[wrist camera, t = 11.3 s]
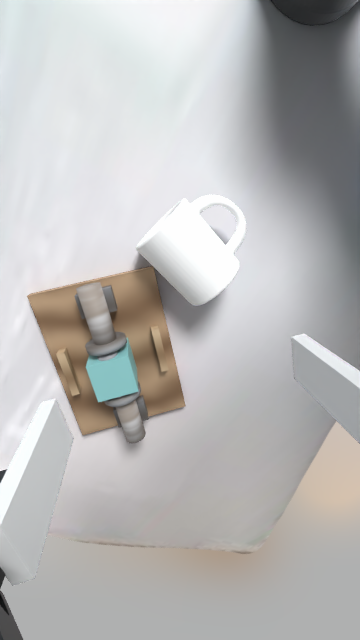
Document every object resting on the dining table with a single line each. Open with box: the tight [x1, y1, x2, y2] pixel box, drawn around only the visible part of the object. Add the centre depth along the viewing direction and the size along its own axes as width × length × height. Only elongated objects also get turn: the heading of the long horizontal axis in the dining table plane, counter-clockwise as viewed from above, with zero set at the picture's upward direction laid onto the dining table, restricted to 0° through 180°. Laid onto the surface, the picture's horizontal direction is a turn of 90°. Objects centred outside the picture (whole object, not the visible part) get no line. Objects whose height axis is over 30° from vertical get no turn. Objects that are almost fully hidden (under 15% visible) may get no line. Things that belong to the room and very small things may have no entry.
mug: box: [136, 195, 246, 306], centre depth 34 cm, size 12×10×8 cm
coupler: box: [86, 338, 139, 402], centre depth 37 cm, size 6×5×6 cm
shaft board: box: [27, 266, 185, 443], centre depth 37 cm, size 22×16×7 cm
